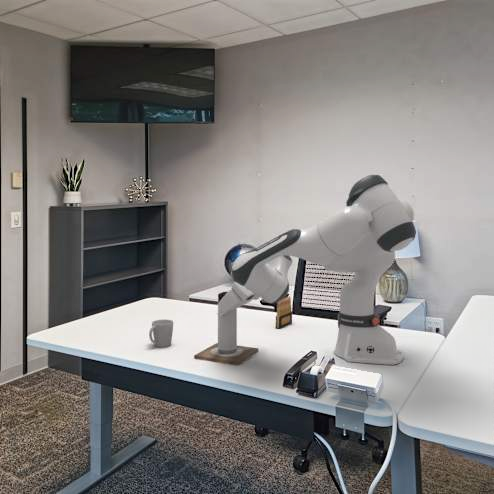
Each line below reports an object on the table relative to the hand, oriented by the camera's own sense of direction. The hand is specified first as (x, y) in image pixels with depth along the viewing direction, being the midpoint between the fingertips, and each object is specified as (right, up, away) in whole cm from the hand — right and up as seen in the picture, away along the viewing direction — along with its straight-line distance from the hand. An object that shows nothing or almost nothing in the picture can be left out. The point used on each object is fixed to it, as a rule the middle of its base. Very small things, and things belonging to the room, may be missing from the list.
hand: (224, 312), depth 164 cm
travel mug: (+1, -13, +1) cm, 13 cm away
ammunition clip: (+23, -11, +39) cm, 47 cm away
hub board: (+1, -14, +1) cm, 14 cm away
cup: (-23, -13, +11) cm, 29 cm away
